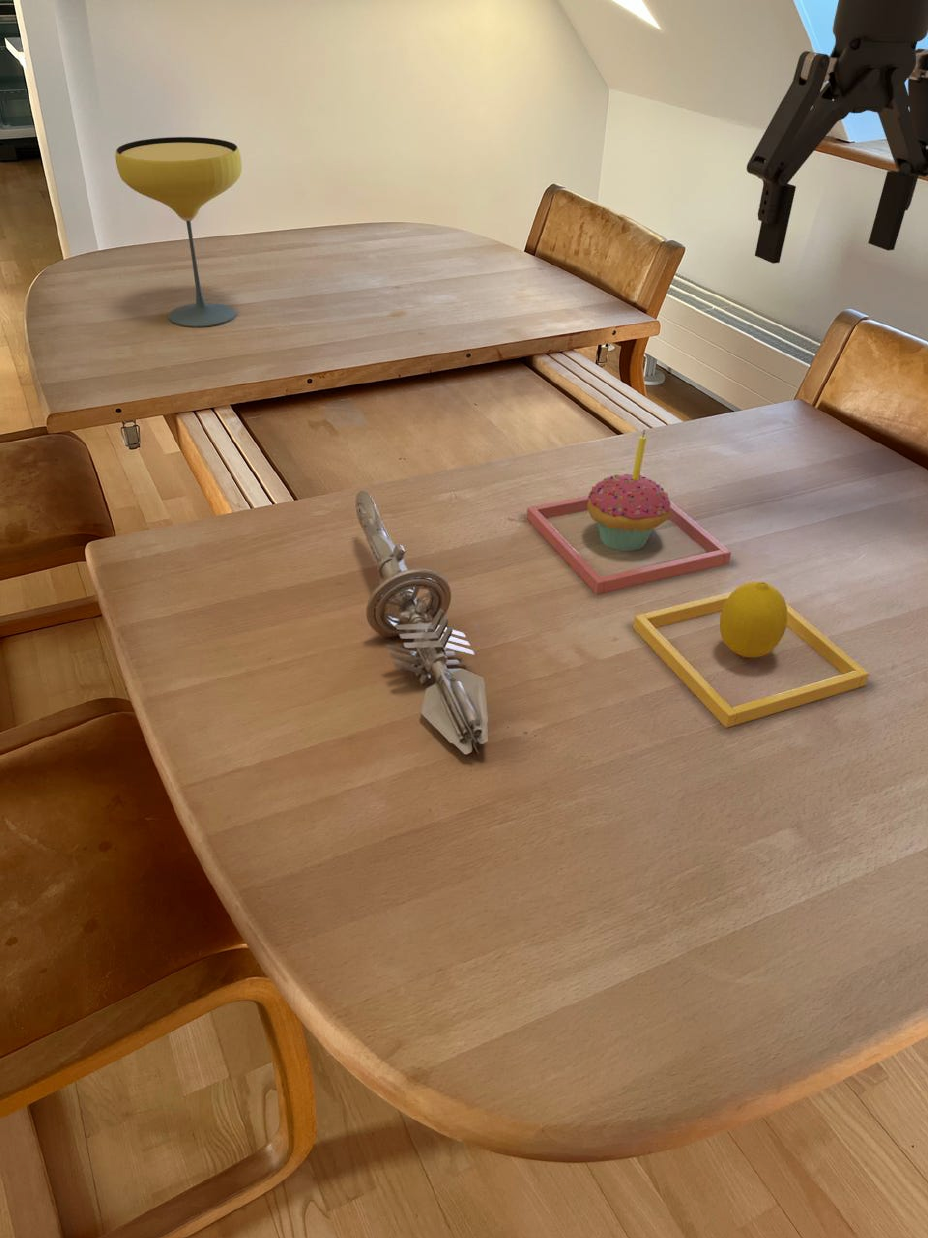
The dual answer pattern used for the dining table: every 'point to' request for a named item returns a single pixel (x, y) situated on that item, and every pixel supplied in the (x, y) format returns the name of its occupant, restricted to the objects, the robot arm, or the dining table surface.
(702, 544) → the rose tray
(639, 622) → the yellow square frame
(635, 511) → the cupcake
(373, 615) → the spaceship
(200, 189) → the cocktail glass
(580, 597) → the dining table surface
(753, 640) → the lemon
